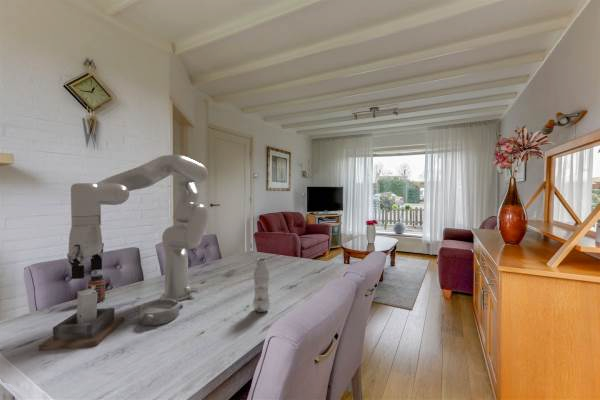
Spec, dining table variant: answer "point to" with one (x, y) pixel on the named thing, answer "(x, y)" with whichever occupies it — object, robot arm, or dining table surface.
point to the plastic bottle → (261, 286)
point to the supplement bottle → (98, 286)
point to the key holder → (82, 331)
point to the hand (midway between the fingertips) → (87, 273)
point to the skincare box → (86, 306)
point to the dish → (159, 311)
